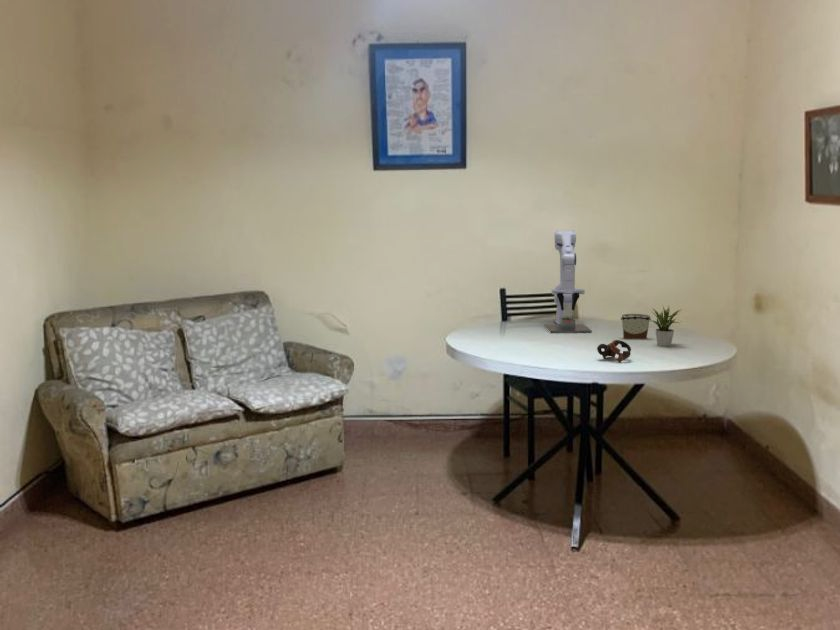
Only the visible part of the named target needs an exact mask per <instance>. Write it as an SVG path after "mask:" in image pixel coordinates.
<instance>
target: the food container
mask: <svg viewBox="0 0 840 630" xmlns="http://www.w3.org/2000/svg"><path fill="white" fill-rule="evenodd" d="M651 318H652V317H651V315H649V314H644V313H643V314H642V313H624V314H622V315H621V317H620V321H622V322H621V323H622V334H623V340H647V339H648V338H647V337H648V332H649V327H650V325H649V324H650V321H652V319H651Z"/></svg>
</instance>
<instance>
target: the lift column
mask: <svg viewBox="0 0 840 630" xmlns="http://www.w3.org/2000/svg"><path fill="white" fill-rule="evenodd" d="M563 318H564V319H567V318H571V319H572V318H573V310H572V304H571V303H564V315H563Z"/></svg>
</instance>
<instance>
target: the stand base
mask: <svg viewBox="0 0 840 630" xmlns="http://www.w3.org/2000/svg"><path fill="white" fill-rule="evenodd" d="M544 326H545V327H546V328H547V329H548V330H549V331H550V332H551V333H550V332H549V331H548V330H547V329H546V328H545V327H544ZM543 327H544V328H545V329H546V330H547V331H548V332H549V333H550V334H592V330H591V328H589V327H588V326H586V325H585V324H584V323H576V318H574V317H572V319H571V318H567V319H564V318H560V324H557V323H549V324H547V323H546V324H545V323H544V325H543Z"/></svg>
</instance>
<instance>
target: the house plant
mask: <svg viewBox="0 0 840 630" xmlns="http://www.w3.org/2000/svg"><path fill="white" fill-rule="evenodd" d="M662 309H663V310H662V311H661V312H660V313H659V312H658V311H657V310H656V309H654V308H652V311H654V316H655V317H656V320H651V321H650V320H649V323H650V322H652V323H654V324H655V325H657V327H658V328H656V329H655V336H656V337H655V338H656V344H657V346H658V345H659V346H658V347H664V346H668V347H671V346H672V343H673V342H672V341H673V336H674V332H675V330H674V329H672V328H671V325H672V324H674V325H675V324H676V323H678V324H680V322H683V320H681V321H680V320H679V321H678V322H677V321H676V318H675V319H674V317H675V316H677V315H678V316H679V315H681V314H680V312H681V309H679V310H676V311H675V312H673V313H672V314H671V315H670V305H668V306H667V309H665V306H664V304H662ZM674 325H672V327H673V326H674ZM670 345H671V346H670Z"/></svg>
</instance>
